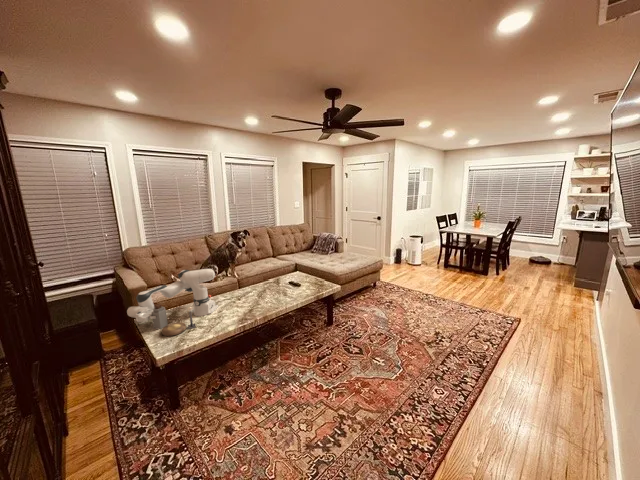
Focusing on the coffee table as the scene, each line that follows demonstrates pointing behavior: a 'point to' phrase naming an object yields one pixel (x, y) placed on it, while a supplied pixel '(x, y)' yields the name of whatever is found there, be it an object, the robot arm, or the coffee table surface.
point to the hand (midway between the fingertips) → (160, 314)
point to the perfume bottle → (159, 317)
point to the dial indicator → (190, 310)
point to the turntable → (174, 329)
